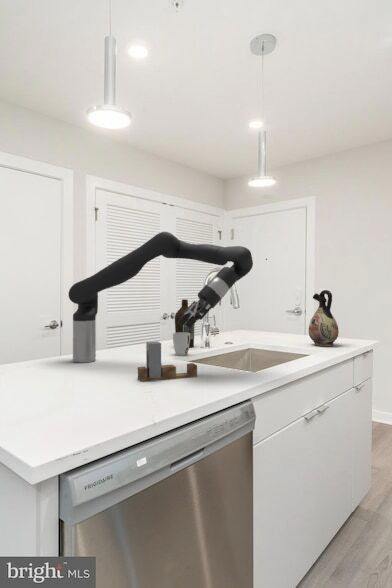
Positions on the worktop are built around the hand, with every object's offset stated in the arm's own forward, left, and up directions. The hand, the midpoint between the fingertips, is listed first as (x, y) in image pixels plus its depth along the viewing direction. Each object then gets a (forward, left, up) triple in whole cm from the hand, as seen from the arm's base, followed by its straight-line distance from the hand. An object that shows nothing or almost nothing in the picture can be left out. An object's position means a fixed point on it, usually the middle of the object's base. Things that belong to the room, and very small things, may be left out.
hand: (183, 325), depth 133 cm
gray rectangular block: (-10, 0, -17) cm, 20 cm away
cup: (+13, +42, -18) cm, 48 cm away
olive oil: (+21, +64, -18) cm, 70 cm away
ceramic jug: (+93, +43, -18) cm, 104 cm away
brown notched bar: (-6, 0, -18) cm, 19 cm away
